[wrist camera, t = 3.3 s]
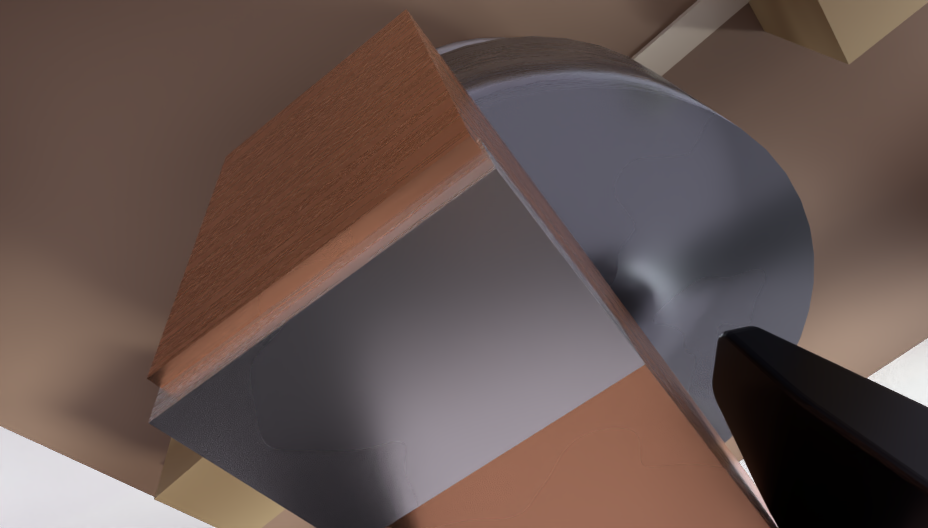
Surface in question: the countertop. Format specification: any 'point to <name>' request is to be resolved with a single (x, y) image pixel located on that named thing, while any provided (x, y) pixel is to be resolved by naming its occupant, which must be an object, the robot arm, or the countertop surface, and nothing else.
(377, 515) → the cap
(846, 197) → the post board
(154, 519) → the countertop surface
